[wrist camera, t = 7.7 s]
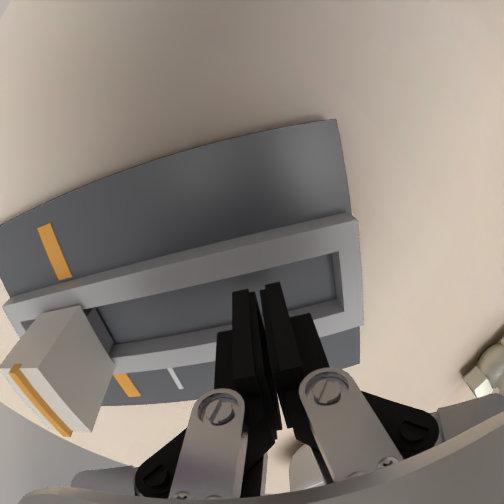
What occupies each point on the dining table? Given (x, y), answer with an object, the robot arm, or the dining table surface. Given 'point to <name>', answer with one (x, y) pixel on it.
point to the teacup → (304, 470)
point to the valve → (488, 371)
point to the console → (195, 255)
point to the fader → (62, 368)
